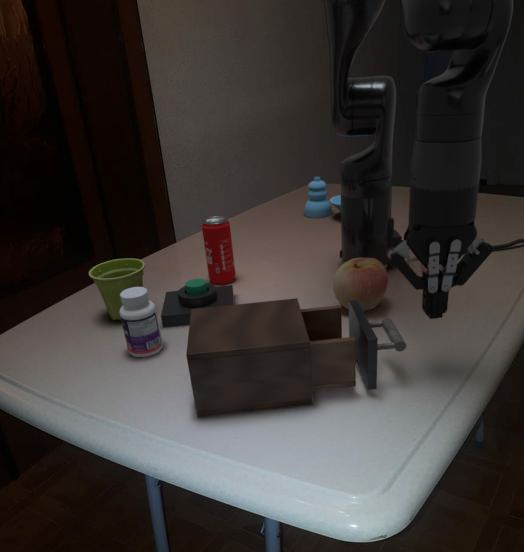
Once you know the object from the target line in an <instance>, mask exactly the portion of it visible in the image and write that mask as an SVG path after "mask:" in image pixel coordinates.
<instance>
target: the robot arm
mask: <svg viewBox="0 0 524 552" xmlns="http://www.w3.org/2000/svg"><path fill="white" fill-rule="evenodd" d="M322 2H323V3H322V5H323V13H324V20H325V29H326V39H327V48H328V49H327V50H328V73H329V74H328V75H329V78H328V79H329V102H330V103H329V105H330V106H329V108H330V120H331V125H332V128H333V131H334V133H335V134H336V135H337V136H339V137H344V138H345V137H346V138H347V137H349V138H350V137H351V138H353V137H371V136H373V137H374V141H373V142H372V144H370V145H369V146H368V147H367V148H364V149H363V150H361V151H359V152H357V153H354V154H351V155H349V156H347V157H345V158H343V160H342V161H341V162H340V167H339V172H340V173H339V176H340V182H339V183H340V195H341V211H340V243H341V245H340V246H341V247H340V248H341V249H340V251H339V259H340V266H341V265H342V264H344V263H345V262H347V261H349V260H351V259H354V258H374V259H377V260H378V261H380V262H381V263H382V264H383V265H384V267H385V268H386V270H389V269H393V268H394V266H395V267H396V268H397V270H398V271H399V272H400V273H401V274H402V275H403V277H404V278H405V279H406V280H407V281H408V282H409V284H410V285H411V286H412V287H413V288H414V289H415V290H416V291H421V290H422V298H421V309H422V311H423V313H424V314H425V315H426V316H427V317H428V318H429V320H435V319H442V318H443V314H446V313H447V311H448V307H449V306H448V304H449V294H450V290H451V289H452V288H454V287H457V286H459V287H462V286H464V285H465V284H466V283H468V281H469V280H470V278H471V277H472V276H473V275H474V274H475V273H476V271H477V270H478V269H479V268H480V266H481V265H483V263H484V262H485V261H486V260H487V258H488V257H489V256H491V254H492V253H493V251H494V250H500V249H501V250H502V249H507V248H511V247H513V246H515V245H518V244H524V238H518V239H515V240H512V241H510V242H507V243H502V244H495V245H491V243H490V242H489V241H487V240H486V239H484V238H481V237H479V236H478V229H477V226H476V225H475V220H476V216H477V207H478V198H479V197H478V196H479V188H480V179H481V170H482V157H483V155H482V153H483V151H482V135H483V128H484V127H483V126H484V117H485V116H484V115H485V108H486V107H485V106H486V97H487V93H488V91H489V87H490V85H491V82H492V79H493V76H494V75H495V71H496V68H497V66H498V62H499V60H500V58H501V57H500V56H501V53H502V51H503V48H504V45H505V42H506V40H507V36H508V33H509V31H510V28H511V23H512V19H513V13H514V0H399V7H400V9H399V10H400V20H401V26H402V31H403V34H404V35H405V37H406V39H407V40H408V42H409V43H410V44H411V45H412V46H413V47H414V48H415V49H416V50H418V51H420V52H422V53H427V54H433V53H435V54H436V53H437V54H438V53H445V52H452V51H453V53H452V55H451V58H450V61H449V63H448V65H447V68H446V70H445V71H444V72H443V73H442V74H440V75H438V76H436V77H433V78H430V79H428V80H427V81H425V82H423V83H422V84H421V85H420V87H419V88H418V91H417V95H416V102H415V103H416V104H415V123H414V124H415V125H414V139H413V140H414V141H413V148H412V154H411V161H410V169H409V180H410V181H409V202H408V203H409V204H408V205H409V206H408V226H407V228H406V231H405V232H404V234H403V237H402V235H401V234H400V233H399V232H398V231H397V230H396V229H395V218H393V217H392V197H393V163H394V162H393V161H394V160H393V157H394V156H393V155H394V154H393V152H394V151H393V150H394V134H395V123H396V121H395V120H396V109H397V87H396V83H395V80H394V78H393V77H392V76H390V75H374V76H362V77H351V76H350V72H351V69H352V66H353V64H354V61H355V59H356V56H357V54H358V52H359V50H360V48H361V46H362V44H363V42H364V41H365V39H366V38H367V37H368V35H369V33H370V31H371V30H372V28H373V27H374V25H375V23H376V21H377V19H378V18H379V16H380V14H381V13H382V10H383V8H384V6H385V4H386V0H322ZM409 251H411V253H412V254H413V255H414V257H415V258H416V259H417V260H418V261H419V263H420V270H421V275H418V274H417V273H416V272H415V271H414V270H413V269H412V267H411V266H410V265H409V264H408V262H409V260H410V258H411V256H410V254H409Z"/></svg>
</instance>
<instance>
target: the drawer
mask: <svg viewBox="0 0 524 552" xmlns="http://www.w3.org/2000/svg"><path fill="white" fill-rule="evenodd" d="M300 309H301V313H302V316H303V320H304V323H305V327H306V330H307V333H308V337H309V340H310V354H311V374H312V392H316V391H328V390H336V389H345V388H355V387H356V386H357V382H356V381H357V368H358V371H359V374H360V376H361V379H362V381H363V383H364V385H365V389H366V390H367V391H374V390H375V391H376V390H377V387H378V351H382V350H393V349H394V350H395V351H396V352H399V353H400V352H404V351H405V350H406V349H407V345H408V344H407V343H406V341H405V339H404V338H403V336H402V335H401V332H400V331H399V329H398V328H397V326H396V324H395V323H394V321H393V319H392V318H391V317H389V316H386V317H383V318H382V319H381V320H379V321H371V322H370V321H369V319H368V317H367V316H366V313H365V311H364V312H363V310H362V308H361V306H360V304H359V302H358V300H351V301H349V309H348V337H347V336H346V337H343V326H342V325H343V321H342V320H343V319H342V318H343V317H342V316H343V315H342V313H343V312H342V305H341V304H339V305H330V306H329V305H328V306H318V307H309V308H300ZM375 328H383V330H384V332H385V334H386V335H387V337H388V339H389V341H390V342H383V343H379V340H378V337H377V335H376V333H375V331H374V329H375Z"/></svg>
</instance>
